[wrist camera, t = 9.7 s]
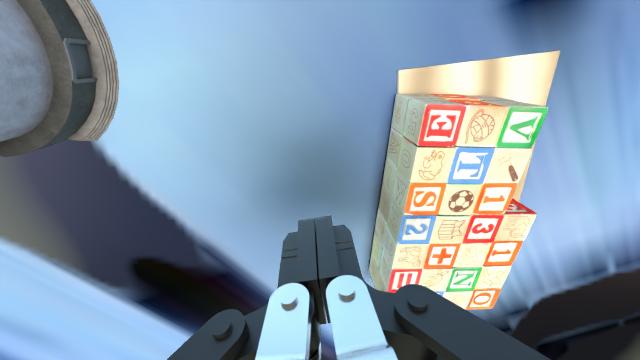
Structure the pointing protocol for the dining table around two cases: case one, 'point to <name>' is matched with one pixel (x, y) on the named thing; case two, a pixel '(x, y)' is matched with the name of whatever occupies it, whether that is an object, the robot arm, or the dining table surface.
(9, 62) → the juicer
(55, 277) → the dining table surface
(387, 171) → the stack of blocks
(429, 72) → the oak board
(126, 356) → the dining table surface
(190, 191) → the dining table surface
